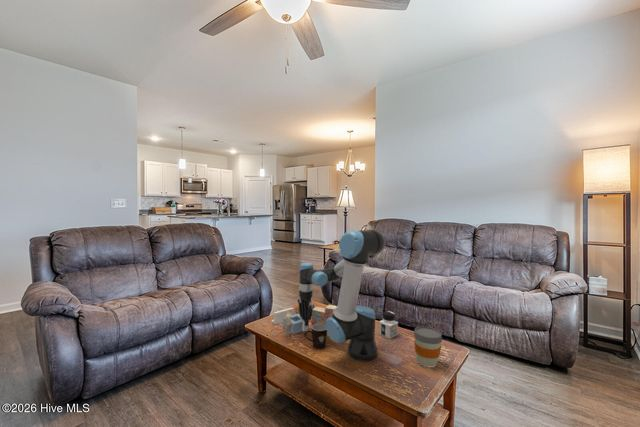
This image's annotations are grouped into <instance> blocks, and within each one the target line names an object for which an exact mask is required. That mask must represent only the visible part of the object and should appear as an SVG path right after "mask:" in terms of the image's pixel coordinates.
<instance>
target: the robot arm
mask: <svg viewBox="0 0 640 427" xmlns="http://www.w3.org/2000/svg"><path fill="white" fill-rule="evenodd" d="M385 246H386V241H385V237H384V235H383V234H382V233H381V232H379V231H378V230H375V229H363V230H355V229H354V230H349V231H346V232H345V233H343V235H342V236H341V237H340V240H339V244H338V247H339V248H338V249H339V253H340V255H341V256H342V259H341V260H340V261H339V262H338V263H336V264H335V265H334V266H332V267H330V268H323V269H315V268H314V265H313V263H312V262H302V263H301V264H300V265H299V288H298V289H299V294H298V297H299V299H297V304H298V309H299V313H300V317H302V324H303V326H302V332H307V331H309V329H308V320H309V321H310V320H311V321H312V317H311V316H312V311H313V308H315V304H313V303H312V301H311V298H313V288H314V286H313V285H315V286H317V287H324V286H325V285H326V284H328V283H333V282H340V281H341V284H340V290H339V294H338V295H339V296H338V301H337V305H336V306H337V307H336V308H335V309H334V310H333V315H332V317H330V318H329V319H327V321H326V329H327V335H328V337H329V338H330V340H331V341H332V342H333V343H336V344H340V343H345V342H347V341H349V342H348V345H347V354H348V355H349V356H350V357H351V358H353V359H354V360H358V361H365V362H366V361H372V360H374V359H376V358H378V353H379V350H378V347H377V344H376V338H375V337H376V336H375V335H376V312H375V310H374V309H373V308H371V307H369V306H365V305H357V303H358V297H359V293H360V287H361V282H362V276H363V272H364V267H365V265H368V263H369V259H373V258H375V257H376V256H377V257H378V255H380V254H381V253H382V252H383V251H384V249H385Z"/></svg>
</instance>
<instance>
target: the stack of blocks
mask: <svg viewBox="0 0 640 427" xmlns="http://www.w3.org/2000/svg"><path fill="white" fill-rule="evenodd" d="M336 307H337V305H333V304H328V305H327V306H325V307H319V306H314V309H313V311H312V317H311V325H314V324H324V325H326V321H327V319H329V318H330V317H332V315H333V310H334V309H335V308H336Z"/></svg>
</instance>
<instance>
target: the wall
mask: <svg viewBox="0 0 640 427" xmlns="http://www.w3.org/2000/svg"><path fill="white" fill-rule="evenodd" d="M286 311H291V315H295V308H294V307H289V308H285V309H282V310H277V311H274V312H273V319H272V320H270V322H271V323H272V324H274V325H278V324H283V318H285V317H286Z"/></svg>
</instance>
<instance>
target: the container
mask: <svg viewBox="0 0 640 427" xmlns="http://www.w3.org/2000/svg"><path fill="white" fill-rule="evenodd" d="M395 317H396V315H395V313H394V312H392V311H389V310H388V311H387V310H386V311H384V312H383V313H382V320H379V324H378V325H379V326H378V334H379V335H380V336H383V337H385V338H387V339H392V338H395V337H397V336H398V333H399V332H398V330H399V322H398V321H396V320H395V319H396V318H395Z"/></svg>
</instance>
